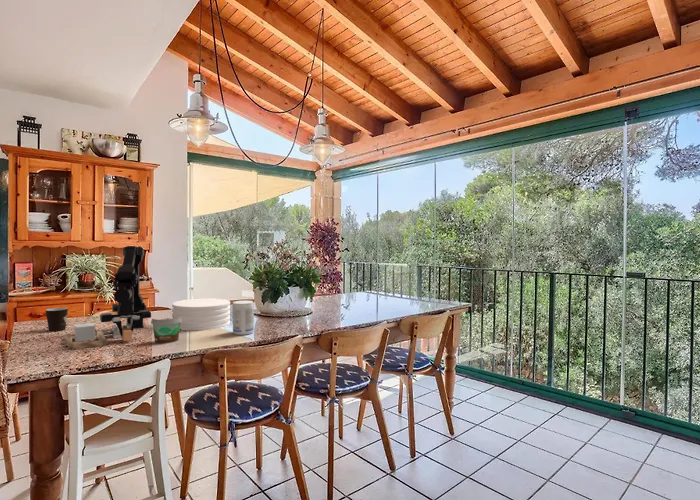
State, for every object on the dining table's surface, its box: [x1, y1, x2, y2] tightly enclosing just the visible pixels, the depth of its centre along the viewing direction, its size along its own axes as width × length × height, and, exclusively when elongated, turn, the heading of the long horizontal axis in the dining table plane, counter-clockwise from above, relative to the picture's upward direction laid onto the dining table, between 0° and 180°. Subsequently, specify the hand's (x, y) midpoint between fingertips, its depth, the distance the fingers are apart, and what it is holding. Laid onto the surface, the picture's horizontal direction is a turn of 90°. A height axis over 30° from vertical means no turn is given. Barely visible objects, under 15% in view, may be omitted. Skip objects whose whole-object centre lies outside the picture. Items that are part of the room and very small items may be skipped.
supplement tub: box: [232, 300, 255, 336], centre depth 195 cm, size 10×10×15 cm
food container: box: [150, 317, 182, 344], centre depth 177 cm, size 12×6×10 cm, turn 117°
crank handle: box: [120, 324, 133, 342], centre depth 177 cm, size 3×9×5 cm, turn 37°
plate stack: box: [171, 297, 231, 331], centre depth 213 cm, size 28×28×12 cm
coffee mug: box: [45, 307, 69, 333], centre depth 197 cm, size 12×9×10 cm
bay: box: [65, 330, 108, 350], centre depth 175 cm, size 13×20×2 cm, turn 37°
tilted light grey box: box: [74, 322, 96, 343], centre depth 180 cm, size 7×7×6 cm
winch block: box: [102, 322, 130, 339], centre depth 186 cm, size 11×7×4 cm, turn 127°
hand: (126, 335), depth 177 cm, fingers closed on crank handle, 3 cm apart
